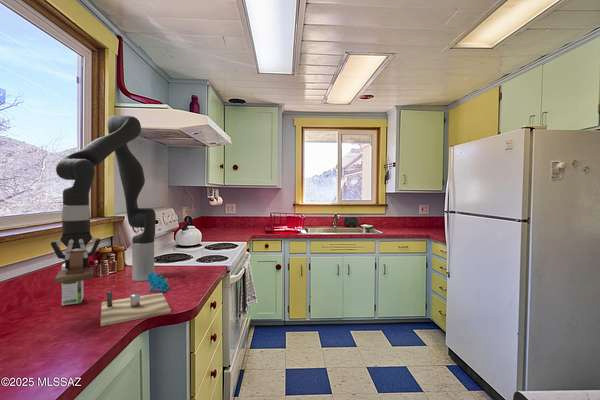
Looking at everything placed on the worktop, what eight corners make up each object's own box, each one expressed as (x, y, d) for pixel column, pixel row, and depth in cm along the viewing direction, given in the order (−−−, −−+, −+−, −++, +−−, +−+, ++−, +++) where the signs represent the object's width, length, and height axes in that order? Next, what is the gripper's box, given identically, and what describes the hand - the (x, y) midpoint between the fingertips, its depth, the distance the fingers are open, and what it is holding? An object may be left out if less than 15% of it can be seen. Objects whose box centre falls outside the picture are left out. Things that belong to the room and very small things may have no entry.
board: (101, 305, 108) (101, 302, 108) (162, 295, 119) (162, 292, 118) (100, 326, 91) (100, 323, 91) (170, 312, 102) (170, 309, 102)
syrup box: (61, 306, 106) (60, 265, 106) (65, 300, 112) (64, 262, 111) (80, 303, 109) (80, 264, 109) (83, 298, 114) (83, 260, 114)
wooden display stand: (91, 279, 94) (91, 255, 94) (55, 284, 89) (54, 259, 89) (93, 269, 106) (93, 248, 106) (61, 272, 101) (61, 250, 101)
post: (130, 305, 105) (130, 294, 105) (139, 303, 107) (139, 292, 107) (130, 308, 103) (130, 296, 102) (140, 306, 104) (140, 295, 104)
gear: (158, 292, 117) (144, 272, 119) (148, 302, 117) (134, 282, 120) (175, 287, 128) (162, 269, 130) (166, 296, 128) (153, 278, 131)
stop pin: (106, 305, 104) (106, 291, 104) (112, 305, 105) (112, 291, 105) (106, 307, 103) (106, 293, 103) (112, 306, 104) (112, 292, 104)
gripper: (101, 216, 107) (102, 264, 107) (50, 218, 99) (51, 269, 100) (101, 218, 100) (102, 269, 101) (47, 220, 93) (47, 275, 93)
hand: (77, 269), depth 100 cm, fingers closed on wooden display stand, 3 cm apart
